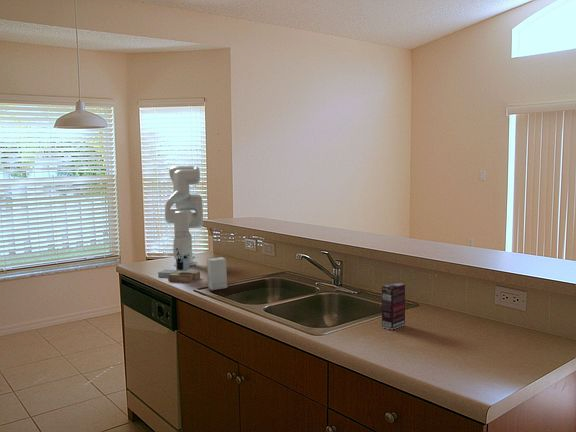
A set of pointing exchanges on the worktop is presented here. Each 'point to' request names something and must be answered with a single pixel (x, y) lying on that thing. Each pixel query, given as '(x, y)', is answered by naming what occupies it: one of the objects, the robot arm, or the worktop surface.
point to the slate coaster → (165, 273)
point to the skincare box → (217, 273)
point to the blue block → (184, 264)
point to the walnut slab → (184, 276)
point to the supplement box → (393, 305)
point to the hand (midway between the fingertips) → (182, 268)
